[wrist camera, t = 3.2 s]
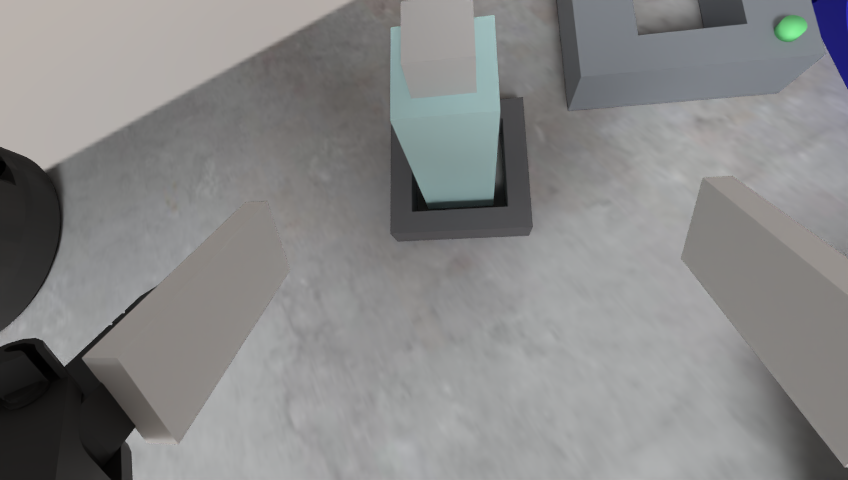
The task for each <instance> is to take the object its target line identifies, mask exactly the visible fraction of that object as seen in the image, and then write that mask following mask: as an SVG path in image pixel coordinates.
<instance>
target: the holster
mask: <svg viewBox="0 0 848 480" xmlns="http://www.w3.org/2000/svg"><path fill="white" fill-rule="evenodd" d="M499 134H501V139H502V156H503V172H504V188H505V205H506V207H490V208H472V209H453V210H435V211H417V181H416V178H415V176H414V174H413V172H412V169H411V167H410V165H409V162H408V160H407V158H406V156H405V153H404V151H403V149H402V146H401V144H400V142H399V139H398V137H397V135H396V133H395V130H394V128H393V126H392V123H391V235H392V236H393V237H394V238H395V239H396V240H397V241H416V240H438V239H461V238H483V237H505V236H528V235H529V234H530V232H531V229H532V227H533V224H532V211H531V198H530V185H529V172H528V159H527V146H526V133H525V120H524V107H523V97H520V98H509V99H500V122H499Z"/></svg>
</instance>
